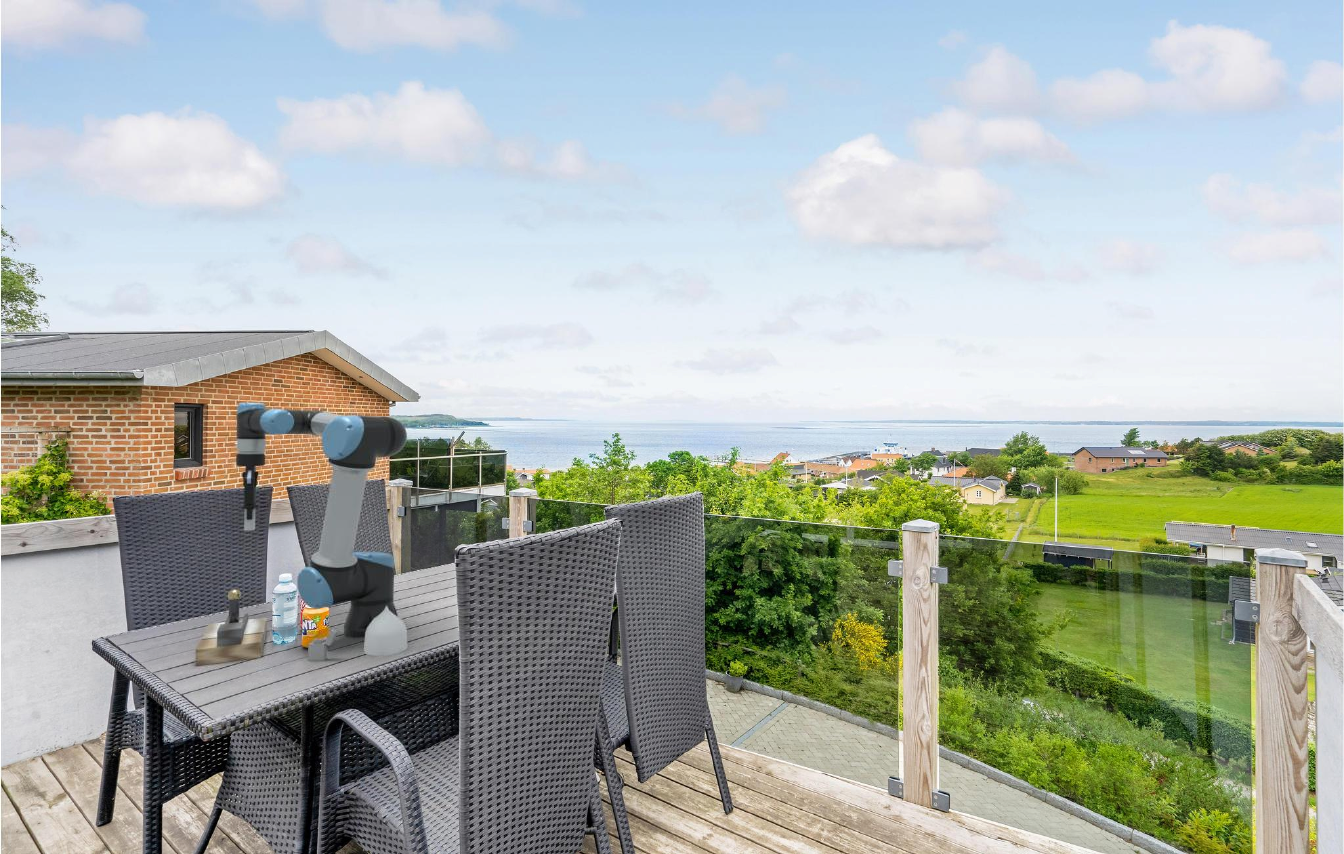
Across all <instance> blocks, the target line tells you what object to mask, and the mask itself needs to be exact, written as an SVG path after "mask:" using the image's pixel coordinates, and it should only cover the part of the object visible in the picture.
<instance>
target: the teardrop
mask: <svg viewBox="0 0 1344 854" xmlns="http://www.w3.org/2000/svg"><path fill="white" fill-rule="evenodd" d="M407 649H408V630H407V627H406V624H405V622H403V620H402V619H401V618H400V617H399V616H398V617H397V616H396V615H394V614H393V613H392V612H391V611H389V609H388V607H387V605H386V607H385V609H384V611H383V612H382V613H381V614H379V615H378V616H377V617H375V618H374V619H373V620H372V622H371V623H370V624H369V626H368V627H367V629H366V632H365V638H364V646H363V653H364V654H365V653H366V655H367V656H373V657H383V656H390V655H395V654H399V653H402V652H404V651H406V650H407Z"/></svg>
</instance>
